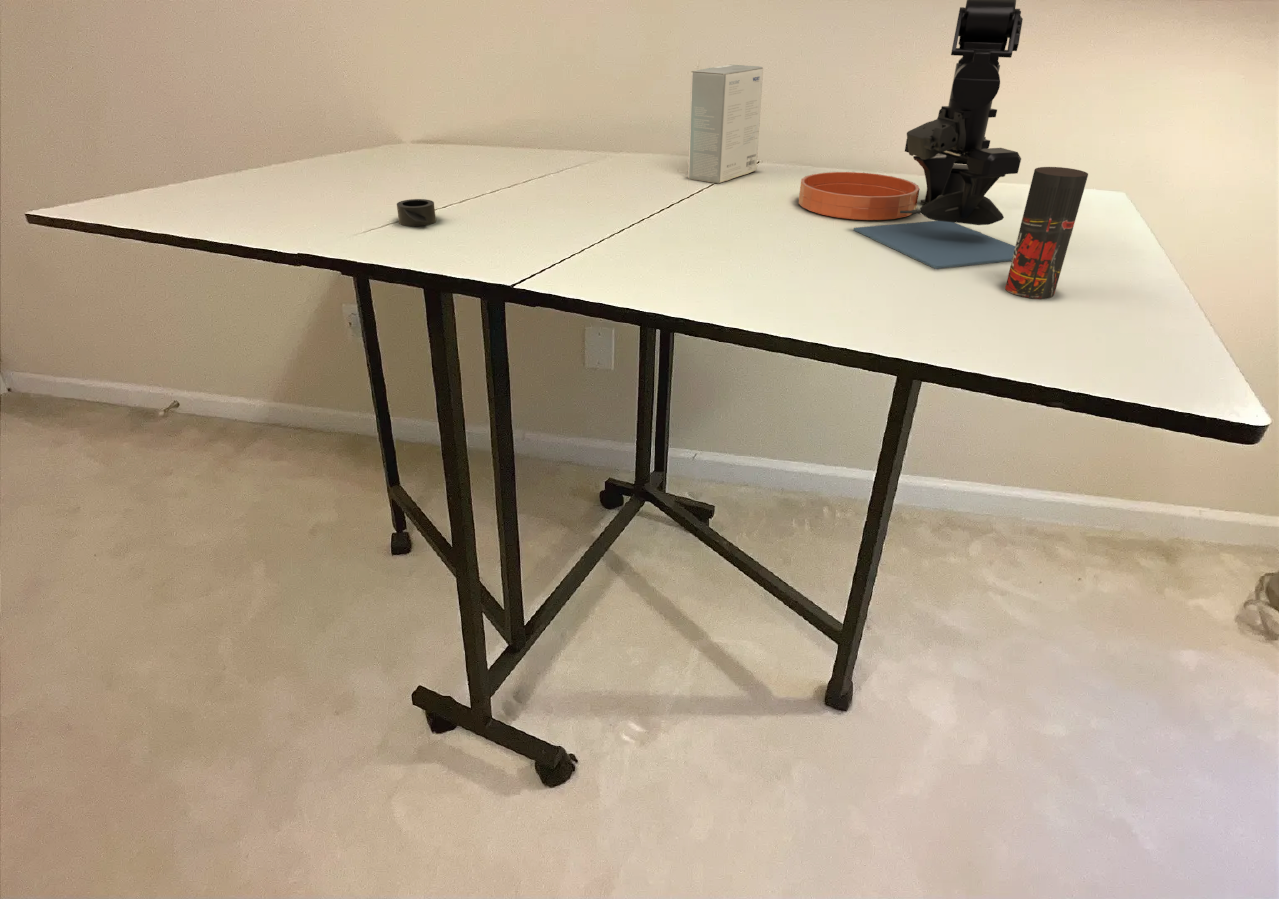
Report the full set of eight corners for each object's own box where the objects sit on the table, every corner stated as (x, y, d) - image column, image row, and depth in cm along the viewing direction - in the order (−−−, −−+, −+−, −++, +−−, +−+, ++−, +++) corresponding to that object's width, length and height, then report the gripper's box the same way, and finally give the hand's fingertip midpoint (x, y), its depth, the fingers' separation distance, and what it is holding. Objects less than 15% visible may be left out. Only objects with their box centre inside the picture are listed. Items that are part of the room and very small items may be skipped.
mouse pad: (946, 222, 135) (947, 219, 135) (1038, 258, 118) (1039, 255, 118) (853, 230, 130) (853, 227, 130) (935, 268, 113) (936, 266, 112)
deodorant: (996, 284, 107) (1025, 166, 100) (1039, 283, 108) (1071, 166, 100) (1018, 299, 102) (1050, 176, 95) (1063, 298, 103) (1098, 176, 95)
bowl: (872, 190, 154) (876, 169, 152) (939, 216, 138) (944, 192, 136) (778, 197, 149) (780, 175, 147) (836, 225, 132) (839, 200, 130)
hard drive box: (725, 166, 172) (732, 63, 162) (757, 171, 169) (766, 66, 159) (686, 178, 161) (690, 69, 151) (718, 184, 158) (725, 72, 148)
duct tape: (380, 227, 127) (377, 209, 125) (409, 212, 135) (407, 194, 134) (426, 231, 125) (423, 212, 124) (452, 215, 134) (450, 197, 132)
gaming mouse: (899, 207, 126) (904, 181, 124) (998, 216, 124) (1005, 189, 121) (900, 219, 121) (905, 192, 119) (1004, 228, 118) (1011, 201, 116)
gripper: (883, 93, 119) (867, 201, 127) (967, 111, 104) (942, 232, 112) (946, 91, 122) (926, 196, 130) (1036, 108, 107) (1007, 226, 115)
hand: (947, 212), depth 122 cm, fingers closed on gaming mouse, 7 cm apart
